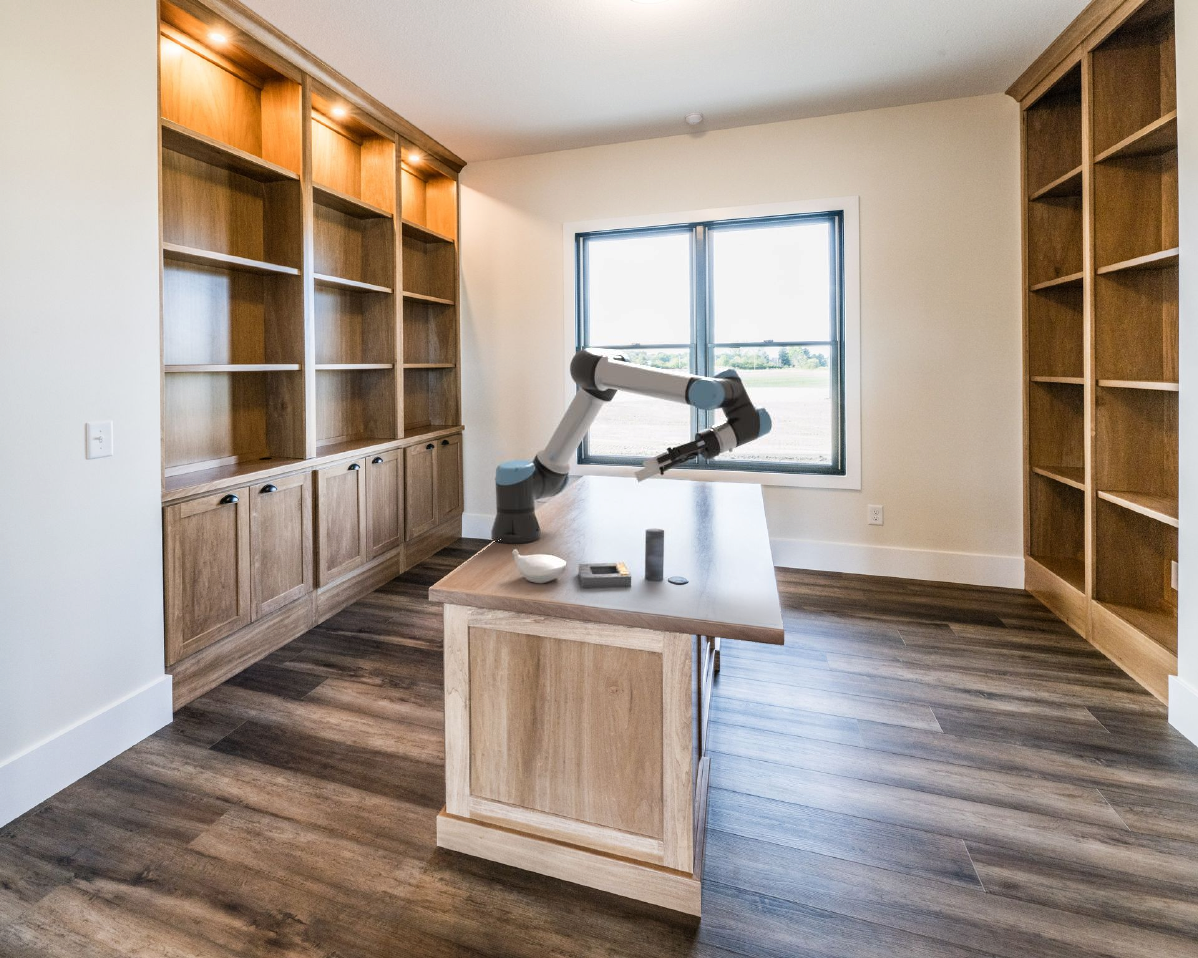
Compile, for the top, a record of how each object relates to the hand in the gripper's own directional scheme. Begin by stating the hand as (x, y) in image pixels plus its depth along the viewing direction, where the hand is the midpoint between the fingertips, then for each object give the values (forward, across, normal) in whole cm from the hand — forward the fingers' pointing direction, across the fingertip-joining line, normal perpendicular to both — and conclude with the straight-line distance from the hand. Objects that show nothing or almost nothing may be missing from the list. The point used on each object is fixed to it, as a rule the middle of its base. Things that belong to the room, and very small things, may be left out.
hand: (640, 472), depth 163 cm
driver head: (+34, +1, -15) cm, 37 cm away
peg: (+8, 0, -25) cm, 27 cm away
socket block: (+19, 0, -21) cm, 28 cm away
